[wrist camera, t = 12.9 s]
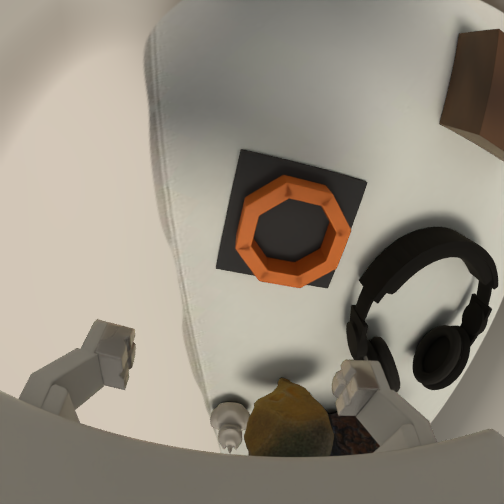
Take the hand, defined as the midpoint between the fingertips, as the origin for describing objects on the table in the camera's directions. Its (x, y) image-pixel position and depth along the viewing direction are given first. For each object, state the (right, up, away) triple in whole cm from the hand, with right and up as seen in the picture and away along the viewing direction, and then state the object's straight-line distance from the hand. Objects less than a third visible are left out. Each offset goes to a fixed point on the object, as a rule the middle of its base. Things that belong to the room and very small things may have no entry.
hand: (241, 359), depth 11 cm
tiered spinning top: (-3, -18, +29) cm, 34 cm away
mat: (+4, +6, +16) cm, 18 cm away
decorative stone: (+4, -12, +26) cm, 29 cm away
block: (+23, +19, +10) cm, 32 cm away
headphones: (+19, -2, +21) cm, 28 cm away
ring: (+4, +6, +16) cm, 17 cm away
